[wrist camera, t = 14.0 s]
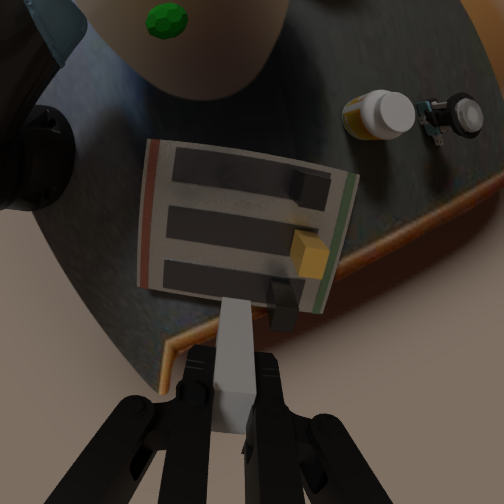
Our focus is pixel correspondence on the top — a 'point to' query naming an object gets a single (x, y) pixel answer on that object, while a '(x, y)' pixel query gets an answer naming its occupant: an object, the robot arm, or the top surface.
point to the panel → (238, 225)
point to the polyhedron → (166, 20)
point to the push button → (451, 116)
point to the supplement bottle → (378, 115)
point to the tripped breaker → (309, 254)
